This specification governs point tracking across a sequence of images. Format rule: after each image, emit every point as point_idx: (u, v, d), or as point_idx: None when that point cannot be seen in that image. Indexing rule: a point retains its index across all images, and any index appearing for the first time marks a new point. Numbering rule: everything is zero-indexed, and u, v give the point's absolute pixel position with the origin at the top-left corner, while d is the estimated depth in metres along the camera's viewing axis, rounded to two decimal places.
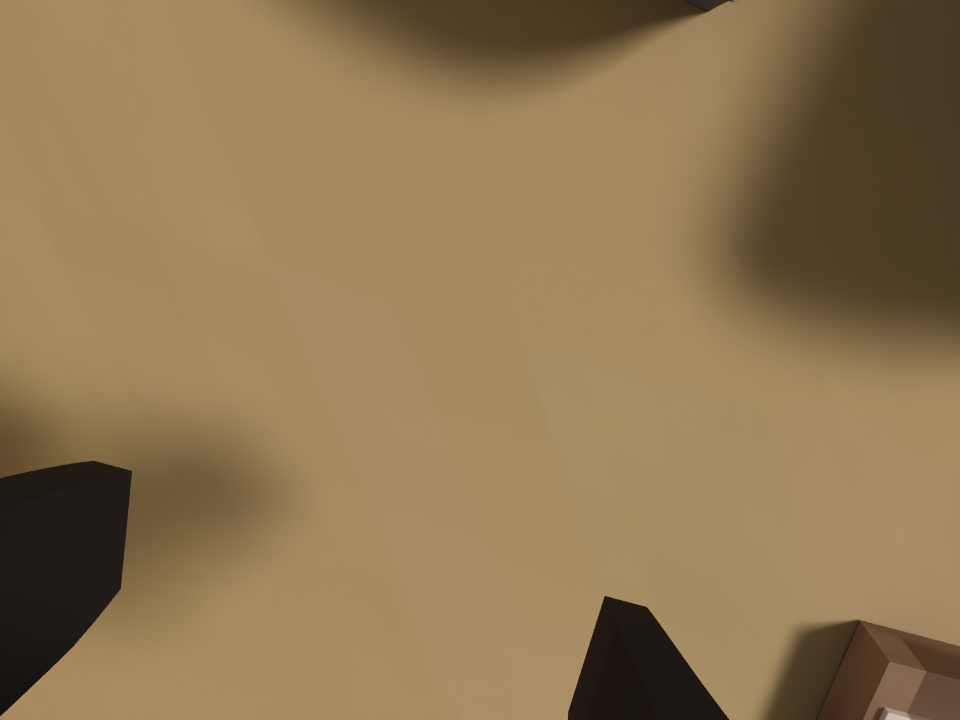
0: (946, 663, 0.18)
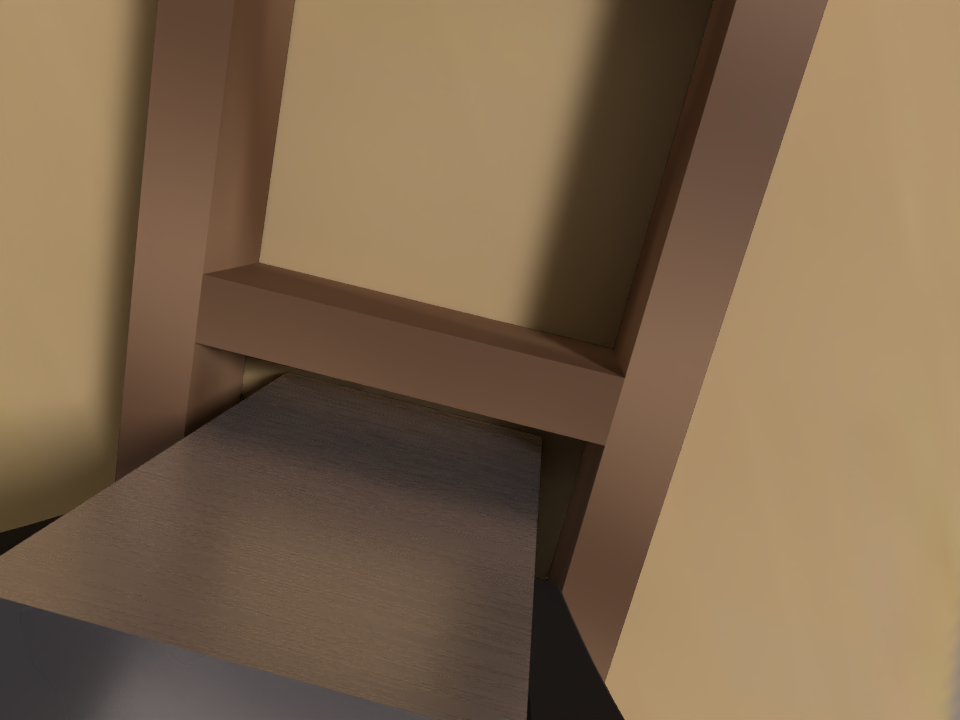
0: None
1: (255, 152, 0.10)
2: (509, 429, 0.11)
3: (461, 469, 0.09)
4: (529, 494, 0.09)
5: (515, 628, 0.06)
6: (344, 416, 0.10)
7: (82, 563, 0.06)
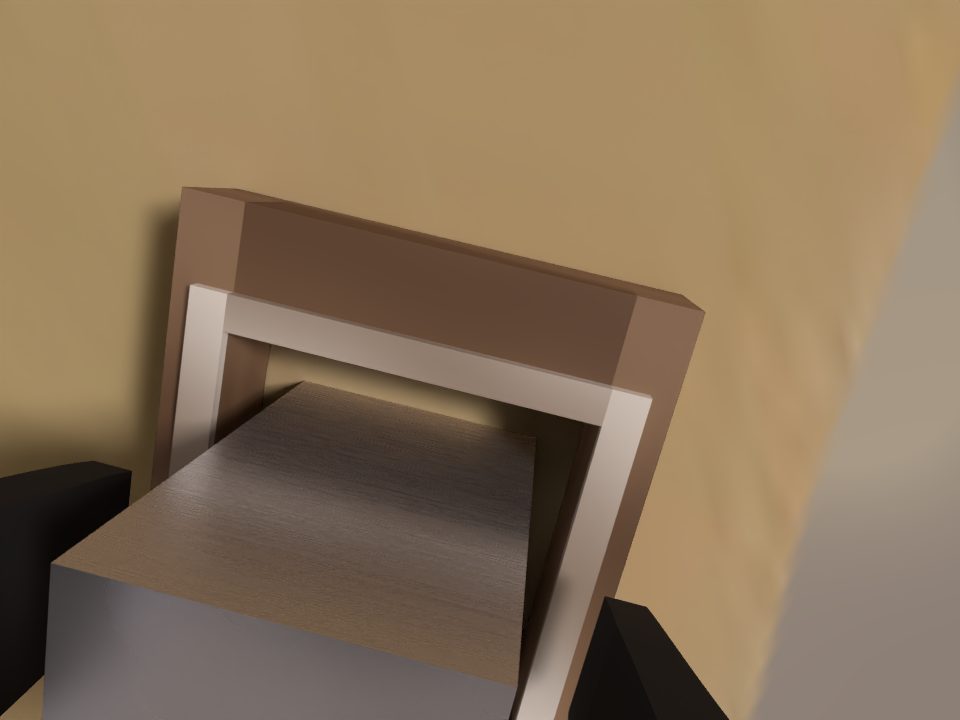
0: (319, 215, 0.10)
1: None
2: (506, 431, 0.12)
3: (462, 467, 0.10)
4: (524, 489, 0.10)
5: (510, 600, 0.07)
6: (358, 420, 0.11)
7: (149, 546, 0.07)
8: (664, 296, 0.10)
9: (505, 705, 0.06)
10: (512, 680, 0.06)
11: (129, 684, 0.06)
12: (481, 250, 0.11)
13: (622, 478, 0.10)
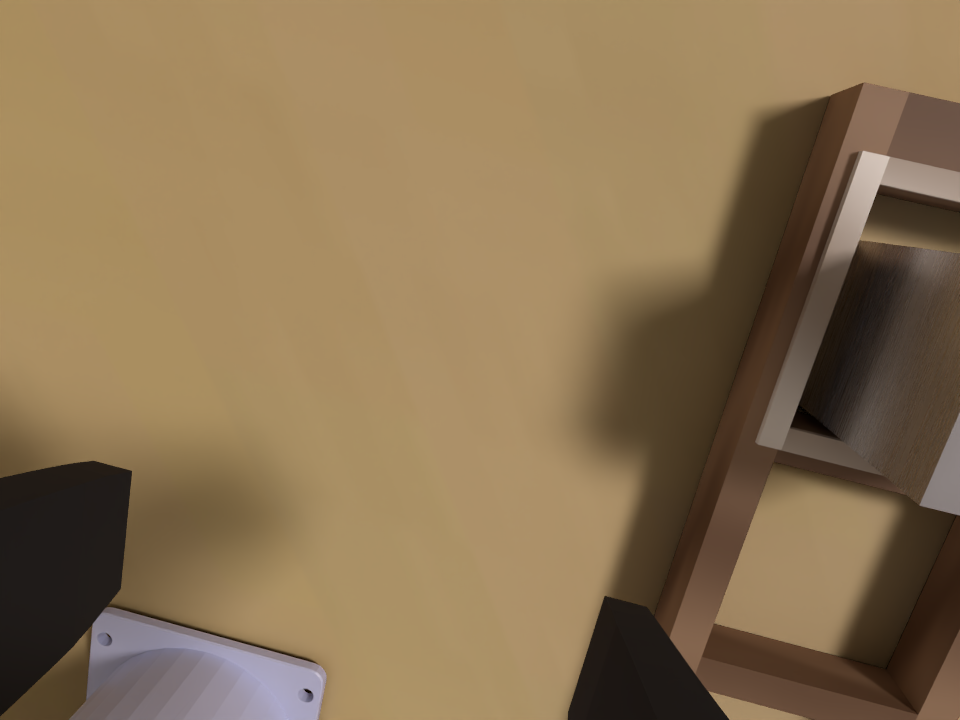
0: None
1: None
2: None
3: None
4: None
5: None
6: None
7: None
8: None
9: None
10: None
11: None
12: None
13: None
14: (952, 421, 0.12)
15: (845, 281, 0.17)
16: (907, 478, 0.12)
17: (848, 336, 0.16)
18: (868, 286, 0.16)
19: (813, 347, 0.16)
